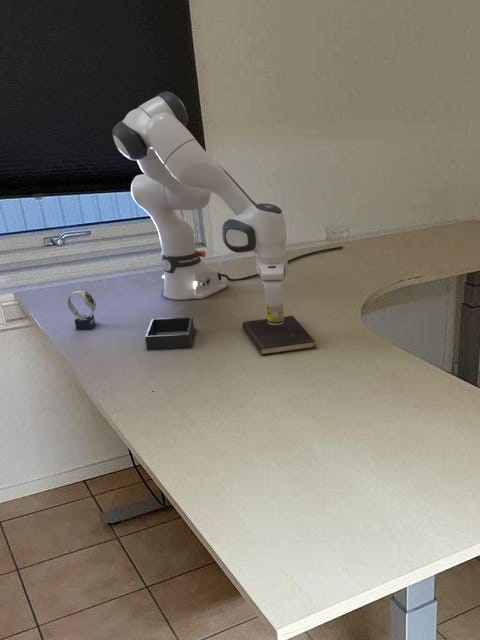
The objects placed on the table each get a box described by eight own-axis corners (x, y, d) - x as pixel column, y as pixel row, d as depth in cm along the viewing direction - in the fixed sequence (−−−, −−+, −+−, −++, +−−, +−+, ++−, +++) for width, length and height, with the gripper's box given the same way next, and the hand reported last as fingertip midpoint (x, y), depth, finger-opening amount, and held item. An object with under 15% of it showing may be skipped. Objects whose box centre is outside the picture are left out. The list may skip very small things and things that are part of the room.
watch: (97, 329, 228) (90, 294, 223) (70, 330, 228) (63, 294, 222) (101, 323, 233) (95, 288, 227) (75, 323, 233) (68, 289, 227)
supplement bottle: (268, 320, 220) (266, 292, 216) (284, 319, 220) (282, 291, 216) (267, 325, 216) (265, 297, 212) (284, 325, 216) (282, 296, 212)
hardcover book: (293, 322, 232) (292, 315, 231) (315, 348, 214) (314, 340, 213) (242, 329, 228) (242, 321, 227) (260, 356, 209) (260, 348, 208)
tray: (153, 331, 227) (151, 318, 225) (194, 329, 228) (192, 317, 226) (147, 350, 214) (145, 336, 212) (190, 348, 215) (188, 334, 213)
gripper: (261, 256, 218) (264, 302, 225) (260, 276, 201) (264, 325, 208) (282, 255, 219) (285, 301, 226) (284, 275, 201) (286, 324, 208)
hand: (275, 313), depth 217 cm, fingers closed on supplement bottle, 5 cm apart
